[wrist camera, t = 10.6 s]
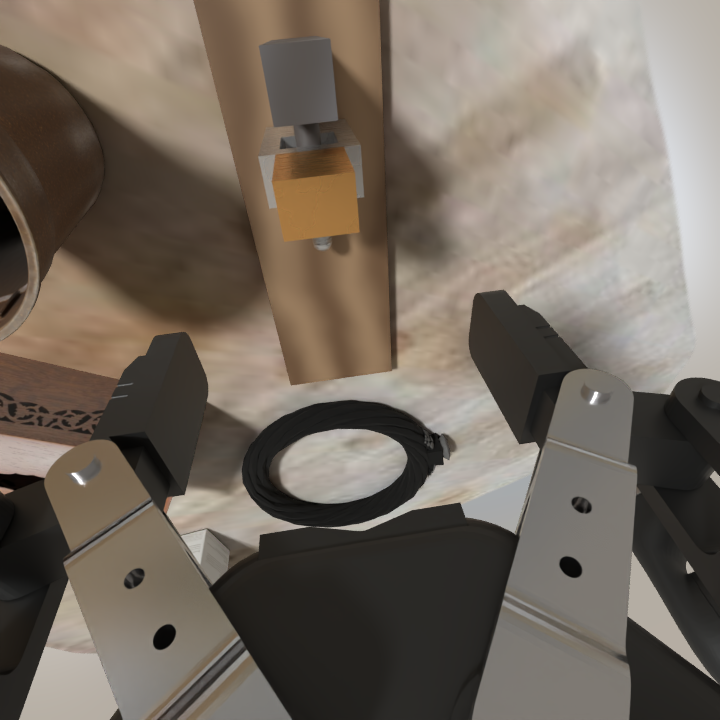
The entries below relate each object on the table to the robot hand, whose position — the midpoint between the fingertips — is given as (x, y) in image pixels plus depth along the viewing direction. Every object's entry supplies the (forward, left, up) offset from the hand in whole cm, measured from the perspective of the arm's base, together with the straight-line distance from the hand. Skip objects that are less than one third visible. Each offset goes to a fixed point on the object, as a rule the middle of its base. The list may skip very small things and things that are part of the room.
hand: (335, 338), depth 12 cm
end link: (0, +3, -26) cm, 26 cm away
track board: (0, +8, -28) cm, 29 cm away
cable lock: (+1, +43, -28) cm, 52 cm away
